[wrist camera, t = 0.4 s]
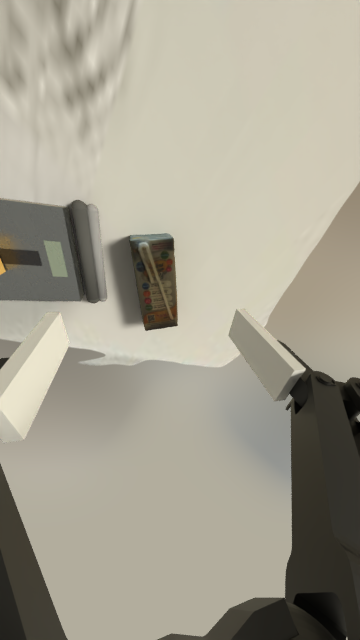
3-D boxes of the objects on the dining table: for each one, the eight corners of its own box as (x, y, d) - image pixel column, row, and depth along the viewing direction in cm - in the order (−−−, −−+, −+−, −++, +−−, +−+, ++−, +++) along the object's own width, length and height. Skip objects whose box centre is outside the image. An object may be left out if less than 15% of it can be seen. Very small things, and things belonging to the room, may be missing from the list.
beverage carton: (170, 231, 35) (176, 237, 29) (174, 313, 46) (179, 328, 40) (128, 233, 34) (127, 240, 28) (143, 317, 44) (144, 334, 39)
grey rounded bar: (72, 199, 29) (67, 198, 27) (98, 202, 30) (95, 202, 28) (89, 299, 39) (86, 305, 37) (108, 300, 40) (106, 305, 38)
